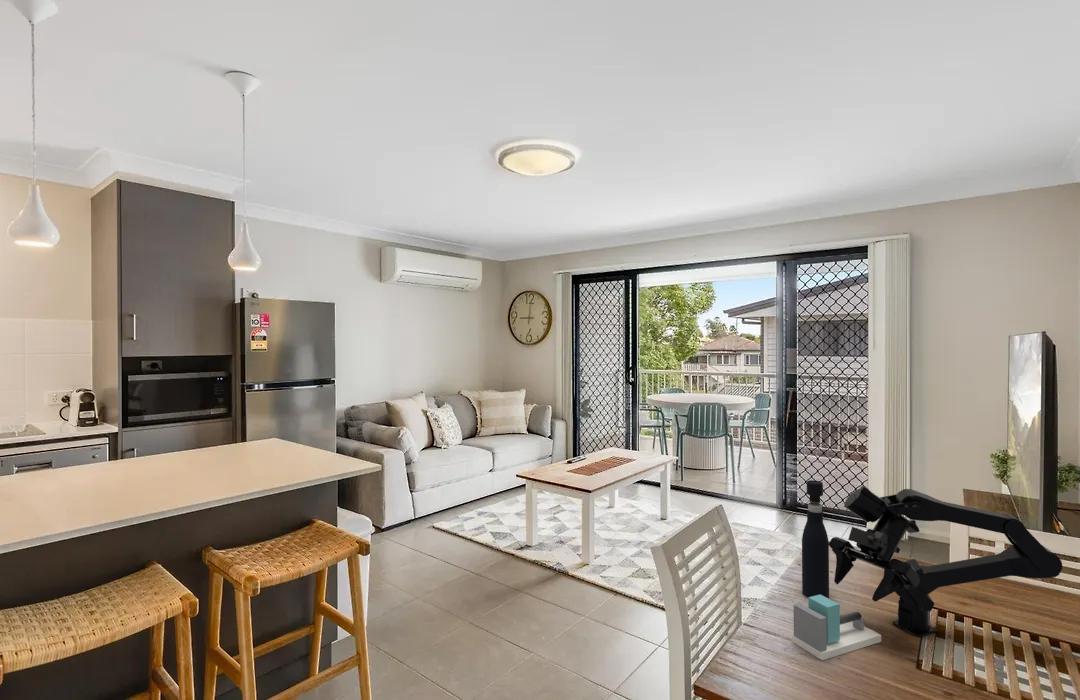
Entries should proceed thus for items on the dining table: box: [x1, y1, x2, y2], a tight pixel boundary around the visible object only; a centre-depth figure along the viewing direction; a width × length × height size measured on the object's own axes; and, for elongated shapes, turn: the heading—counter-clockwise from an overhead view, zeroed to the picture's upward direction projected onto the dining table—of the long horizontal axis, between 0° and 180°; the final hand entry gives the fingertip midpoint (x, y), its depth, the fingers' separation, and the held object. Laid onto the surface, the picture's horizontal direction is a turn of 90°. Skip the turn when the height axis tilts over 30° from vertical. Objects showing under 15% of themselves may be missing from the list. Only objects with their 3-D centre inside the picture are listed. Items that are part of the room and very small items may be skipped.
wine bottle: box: [801, 480, 830, 599], centre depth 143 cm, size 6×6×30 cm
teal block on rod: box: [807, 595, 841, 644], centre depth 120 cm, size 4×5×8 cm
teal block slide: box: [791, 602, 882, 661], centre depth 121 cm, size 18×8×8 cm, turn 112°
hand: (854, 591), depth 123 cm, fingers open, 9 cm apart
